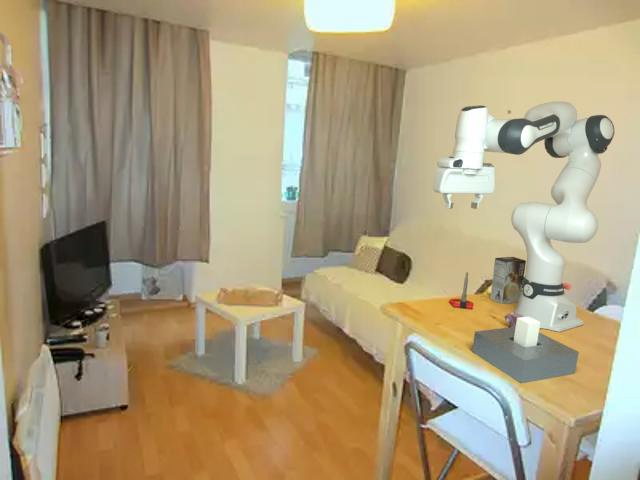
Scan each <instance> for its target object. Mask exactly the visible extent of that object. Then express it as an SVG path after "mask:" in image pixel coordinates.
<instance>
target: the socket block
mask: <svg viewBox="0 0 640 480" xmlns="http://www.w3.org/2000/svg"><path fill="white" fill-rule="evenodd" d="M515 328H516V327H511V326H508V327H503V328H502V327H500V328H492V329H485V330H478V331H476V330H475V331H474V336H473V342H472V343H473V344H472V350H471V351H472V353H473V354H475V355H477V357H479V358H482V359H483V360H484V361H486V362H487V363H489V364H491V366H494V367H495V368H496V369H498V370H500V371H501V372H503V373H504V374H506V375H508V376H509V377H511V378H512V379H514V380H515V381H517V382H519V383H520V384H524V383H529V382H536V381H540V380H541V381H542V380H547V379H552V378H559V377H563V375H564V376H568V375H569V374H570V375H574V374H573V373H575V374H576V370H577V369H576V368H577V363H578V358H579V353H580V352H579V351H577V350H576V349H574V348H572V347H570V346H567V345H565V344H564V343H561V342H560V341H557V340H555V339H553V338H551V337H549V336H547V335H546V334H543V333H542V332H539V334H538V340H537V346H530V347H523V346H522V345H520V344H518V343H516V342H514V335H515Z"/></svg>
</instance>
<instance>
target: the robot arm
mask: <svg viewBox="0 0 640 480" xmlns="http://www.w3.org/2000/svg"><path fill="white" fill-rule="evenodd" d="M488 109H489V108H488V107H487V106H485V105H469V106H464V107H463V108H461V109H460V111H459V114H458V116H457V120H456V124H455V132H454V133H455V134H454V139H455V143H454V144H455V145H454V148H453V149H452V150H453V151H452V154H449V155H448V156H445V157H444V156H443V157H442V158H438V159H437V161H436V165H437V166H438V167H437V168H436V170H435V172H434V177H433V183H432V189H433V191H434V192H435V193H439V194H442V197H443V200H444V202H445V206H444V207H445V209H450V210H452V209H453V208H454V202H452V201H451V197H452V195H453V194H465V195H466V194H468V195H470V194H471V195H474V197H475V198H474V201H471V203H470V208H471V209H473V210H474V209H475V210H477V209H479V206H480V205H479V204H480V202H482V200H483V198H484V195H492V194H493V193H494V192H495V187H496V186H495V185H496V181H495V180H496V178H495V177H496V175H495V172H496V171H495V170H496V168H495V166H494V165H493V164H492V163H490V162H487V163H486V162H484V158H485V152H488V153H489V152H490V153H499V154H500V153H501V154H510V155H517V156H519V155H523V154H524V153H526V152H527V151H528V150H530V148H531V147H533V146H534V145H535V144H536V143H540V142H541V141H543V142H544V143H543V144H544V149H545V152H546V153H547V154H548V155H549V156H550V157H552V158H554V159H560V158H561V159H562V158H563V159H564V158H566V157H568V161H567V163H566V164H565V165H564V167H563V168H562V169H561V171H560V172H559V174H558V177H557V178H556V180H555V181H554V183H553V184H552V186H551V189H550V195H551V198H552V199H553V200H552V201H554V202H555V203H556V204H551V203H546V202H545V203H544V202H537V201H536V202H533V201H532V202H531V201H530V202H521V203H519V204H518V205H516V206H515V208H514V209H513V211H512V213H511V217H510V219H511V220H510V221H511V225H512V227H513V229H514V230H515V231H516V232H517V233H518V234H519V236H520V238H521V239H522V241H523V243H524V245H525V250H526V265H525V273H524V278H523V282H522V283H523V284H522V291H521V294H520V297H519V301H518V302H517V305H516V307H515V308H514V310H513V313H514V314H515V313H516V314H520V315H522V316H524V317H530V318H533V319H535V320H537V321H539V322H540V328H539V329H545V330H550V331H555V332H564V331H567V330H570V329H574V328H576V327H577V328H578V327H580V326H582V325H584V321H583V319H581V318H580V317H578V316H577V313H578V310H577V306H576V304H575V303H574V302H573V301H572V300H571V299H570V298H569V297H568V296H567V295H566V293H565V290H567V291H570V290H571V288H572V285H571V283H568V282H564V283H563V278H564V271H565V268H566V267H565V265H566V261H565V258H564V256H563V255H562V254H561V253H560V252H559V251H558V250H556V249H555V248H554V247H553V245H552V242H551V240H554V241H558V242H564V243H571V244H573V243H574V244H577V243H578V244H581V243H583V244H584V243H585V244H586V243H589V242H590V241H591V240H592V239H594V237H595V236H596V234H597V233H598V227H599V222H598V219H597V216H596V215H595V214H594V213H593V212H592V210H590V209H589V208H588V205H587V202H588V198H589V197H590V194H591V193H592V190H593V188H594V186H595V185H596V183H597V181H598V179H599V175H600V172H601V168H602V161H601V159H600V157H599V155H602V154H604V153H605V152H606V151H607V150H608V146H609V145H611V143H612V141H613V138H614V135H615V126H614V123H613V121H612V120H611V119H610V118H609V117H608V116H607V115H604V114H596V115H591V116H589V117H585V118H581V119H578V111H577V108H576V107H575V105H574V104H572V103H570V102H569V101H549V102H545V103H541V104H538V105H535V106H534V107H533V106H532V107H531V108H529V109H528V110H527V111H526V112H525V115H524V116H523V118H513V119H511V118H503V119H501V118H496V117H494V116H492V115H491V114H490V113H489V110H488Z"/></svg>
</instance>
